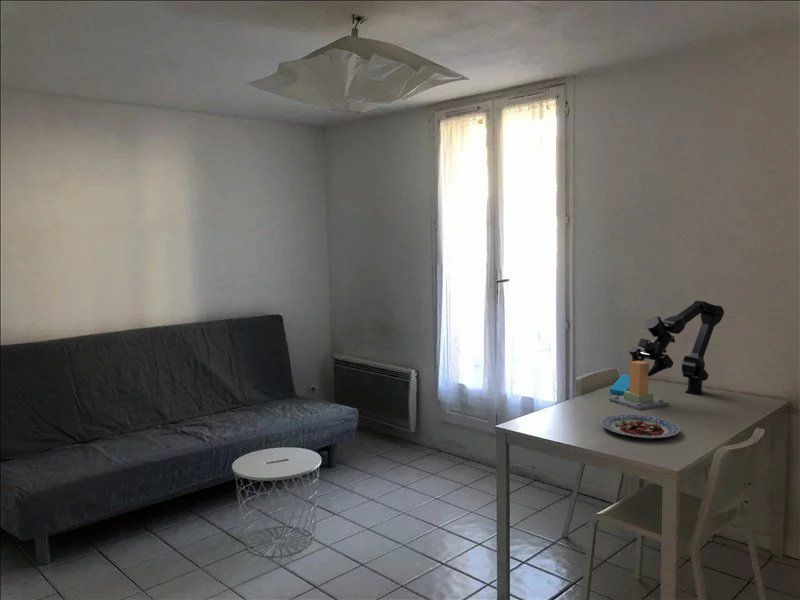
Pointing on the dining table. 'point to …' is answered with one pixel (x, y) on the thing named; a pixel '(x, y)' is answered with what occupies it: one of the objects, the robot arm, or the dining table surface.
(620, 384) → the blue long block
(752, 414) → the dining table surface
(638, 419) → the ceramic plate
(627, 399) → the tower base
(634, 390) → the orange brick
